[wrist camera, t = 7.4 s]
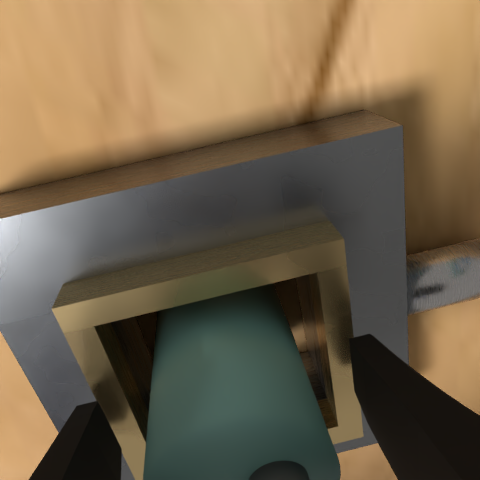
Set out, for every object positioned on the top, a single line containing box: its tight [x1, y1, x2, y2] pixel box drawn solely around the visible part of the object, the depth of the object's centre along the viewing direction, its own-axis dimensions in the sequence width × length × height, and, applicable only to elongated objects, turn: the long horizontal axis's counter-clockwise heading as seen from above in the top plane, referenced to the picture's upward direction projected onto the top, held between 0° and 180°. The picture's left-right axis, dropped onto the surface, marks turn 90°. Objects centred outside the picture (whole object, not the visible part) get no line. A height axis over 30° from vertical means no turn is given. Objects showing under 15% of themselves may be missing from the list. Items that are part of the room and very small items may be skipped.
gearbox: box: [0, 110, 480, 480], centre depth 14 cm, size 16×12×4 cm
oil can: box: [143, 283, 341, 480], centre depth 12 cm, size 4×4×8 cm
